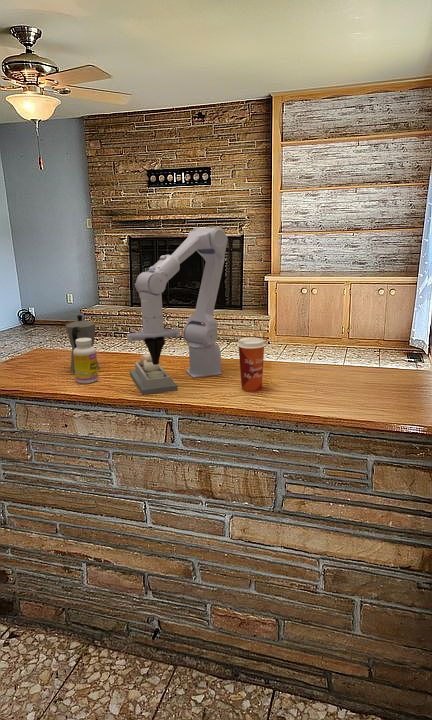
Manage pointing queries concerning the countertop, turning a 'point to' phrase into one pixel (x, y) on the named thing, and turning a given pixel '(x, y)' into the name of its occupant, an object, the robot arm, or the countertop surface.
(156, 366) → the ivory button
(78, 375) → the supplement bottle
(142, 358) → the terracotta button
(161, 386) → the button board
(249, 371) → the paper cup
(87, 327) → the coffeepot
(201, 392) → the countertop surface
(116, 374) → the countertop surface
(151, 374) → the sage button
